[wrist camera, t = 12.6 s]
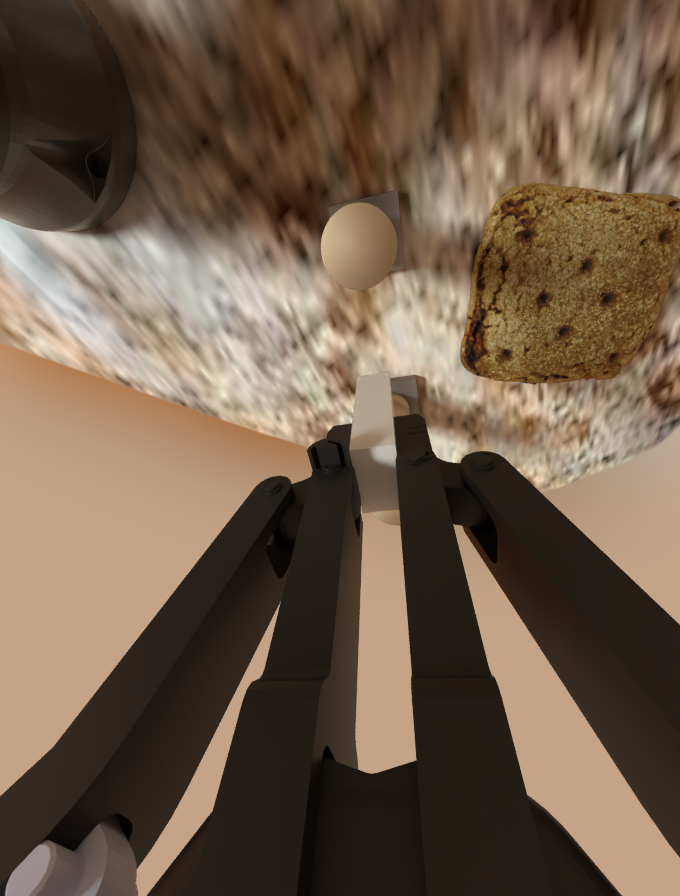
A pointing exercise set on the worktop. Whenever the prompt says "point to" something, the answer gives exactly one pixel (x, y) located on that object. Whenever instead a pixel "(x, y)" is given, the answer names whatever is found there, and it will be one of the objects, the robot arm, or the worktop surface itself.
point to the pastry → (568, 282)
